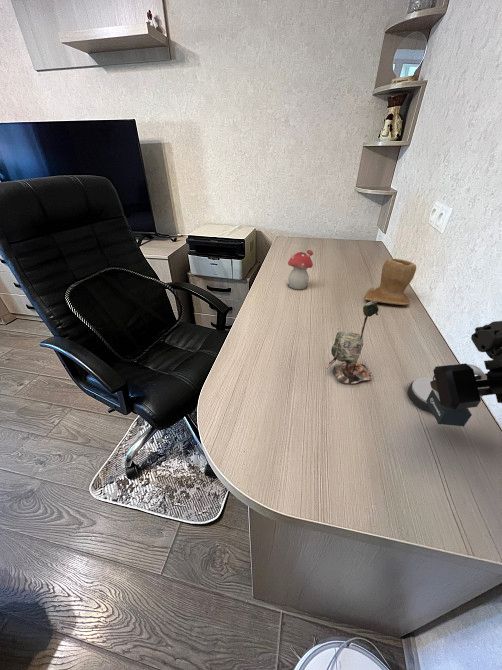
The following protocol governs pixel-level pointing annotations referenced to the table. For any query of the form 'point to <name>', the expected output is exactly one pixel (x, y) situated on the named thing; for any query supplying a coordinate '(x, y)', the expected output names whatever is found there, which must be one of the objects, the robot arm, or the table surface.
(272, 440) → the table surface
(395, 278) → the brown suede boot
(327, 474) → the table surface
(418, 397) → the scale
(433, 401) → the watch
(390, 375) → the table surface
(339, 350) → the plant with pod
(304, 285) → the decorative ornament
